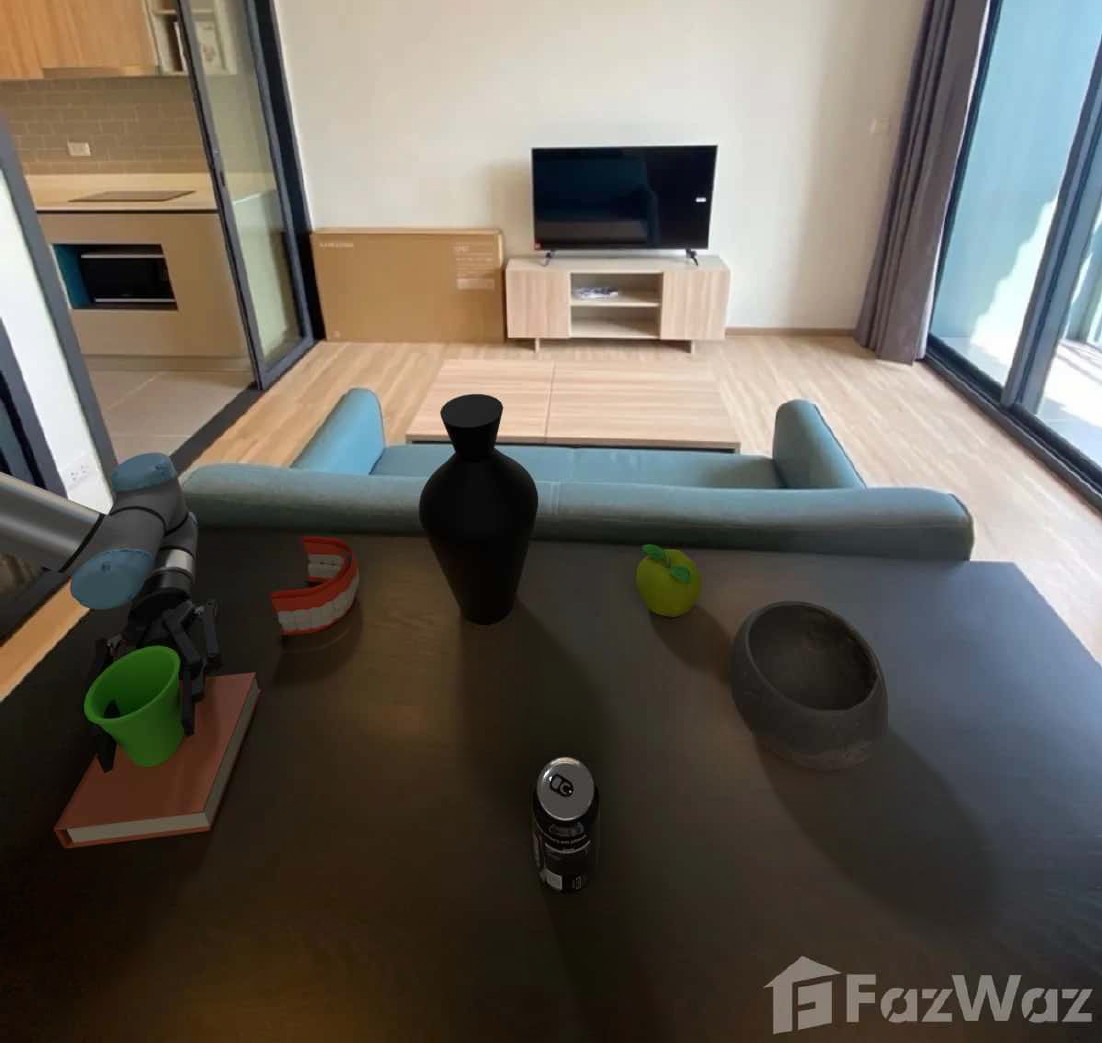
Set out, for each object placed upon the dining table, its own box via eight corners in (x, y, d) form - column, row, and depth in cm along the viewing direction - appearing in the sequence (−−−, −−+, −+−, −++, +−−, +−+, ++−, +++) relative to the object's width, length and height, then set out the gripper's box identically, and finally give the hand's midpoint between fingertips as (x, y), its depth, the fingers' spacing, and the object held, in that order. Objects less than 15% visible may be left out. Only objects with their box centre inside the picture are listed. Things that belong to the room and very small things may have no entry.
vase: (420, 581, 97) (395, 395, 83) (517, 547, 103) (508, 369, 90) (449, 670, 82) (424, 462, 69) (560, 624, 89) (556, 425, 76)
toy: (348, 639, 87) (339, 599, 84) (278, 639, 87) (267, 599, 84) (372, 572, 99) (366, 534, 95) (311, 572, 99) (302, 535, 96)
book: (64, 848, 64) (53, 829, 63) (143, 702, 79) (136, 684, 77) (210, 830, 65) (202, 811, 64) (261, 690, 80) (255, 672, 79)
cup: (135, 805, 64) (103, 740, 60) (100, 755, 69) (69, 691, 65) (217, 734, 71) (194, 671, 67) (180, 693, 76) (157, 631, 72)
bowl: (907, 744, 72) (930, 673, 67) (811, 837, 64) (830, 763, 59) (785, 634, 86) (797, 569, 82) (694, 698, 78) (702, 629, 73)
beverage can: (554, 806, 67) (552, 737, 62) (609, 843, 64) (611, 772, 59) (521, 872, 61) (517, 802, 57) (580, 916, 58) (580, 845, 54)
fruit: (663, 642, 85) (667, 591, 82) (624, 596, 93) (626, 547, 89) (710, 614, 90) (716, 564, 86) (669, 573, 97) (673, 525, 93)
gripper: (247, 584, 89) (254, 723, 70) (86, 641, 80) (44, 816, 61) (236, 546, 86) (240, 679, 67) (67, 600, 77) (18, 771, 58)
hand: (147, 744), depth 64 cm, fingers closed on cup, 7 cm apart
